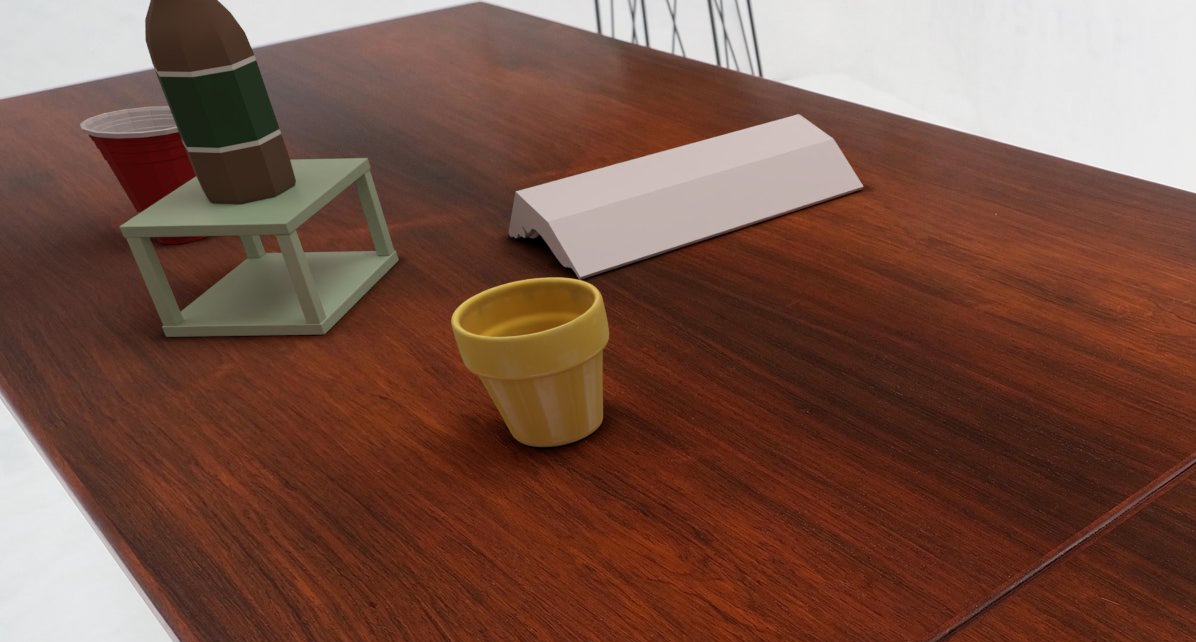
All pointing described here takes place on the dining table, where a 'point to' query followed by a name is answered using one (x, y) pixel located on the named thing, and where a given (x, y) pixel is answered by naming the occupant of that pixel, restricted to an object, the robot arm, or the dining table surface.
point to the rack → (266, 256)
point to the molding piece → (683, 195)
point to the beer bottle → (218, 100)
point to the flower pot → (538, 355)
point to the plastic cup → (143, 155)
